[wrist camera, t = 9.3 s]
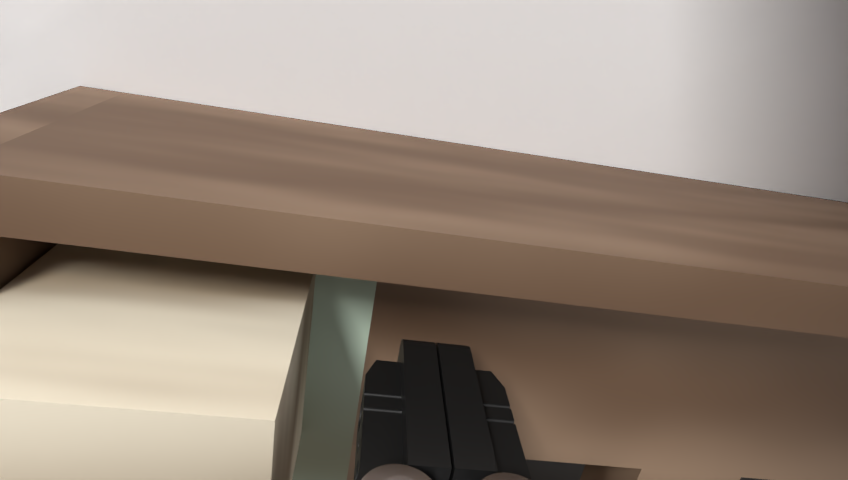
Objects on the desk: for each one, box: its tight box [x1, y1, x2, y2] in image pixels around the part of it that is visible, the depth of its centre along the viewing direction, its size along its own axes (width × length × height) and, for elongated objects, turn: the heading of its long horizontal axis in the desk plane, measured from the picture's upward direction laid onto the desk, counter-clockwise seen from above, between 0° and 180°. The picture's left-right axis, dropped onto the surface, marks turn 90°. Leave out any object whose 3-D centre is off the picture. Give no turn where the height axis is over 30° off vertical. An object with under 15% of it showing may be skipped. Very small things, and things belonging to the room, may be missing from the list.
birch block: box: [0, 244, 316, 480], centre depth 11 cm, size 5×5×5 cm
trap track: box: [0, 86, 848, 480], centre depth 16 cm, size 15×31×6 cm, turn 80°
